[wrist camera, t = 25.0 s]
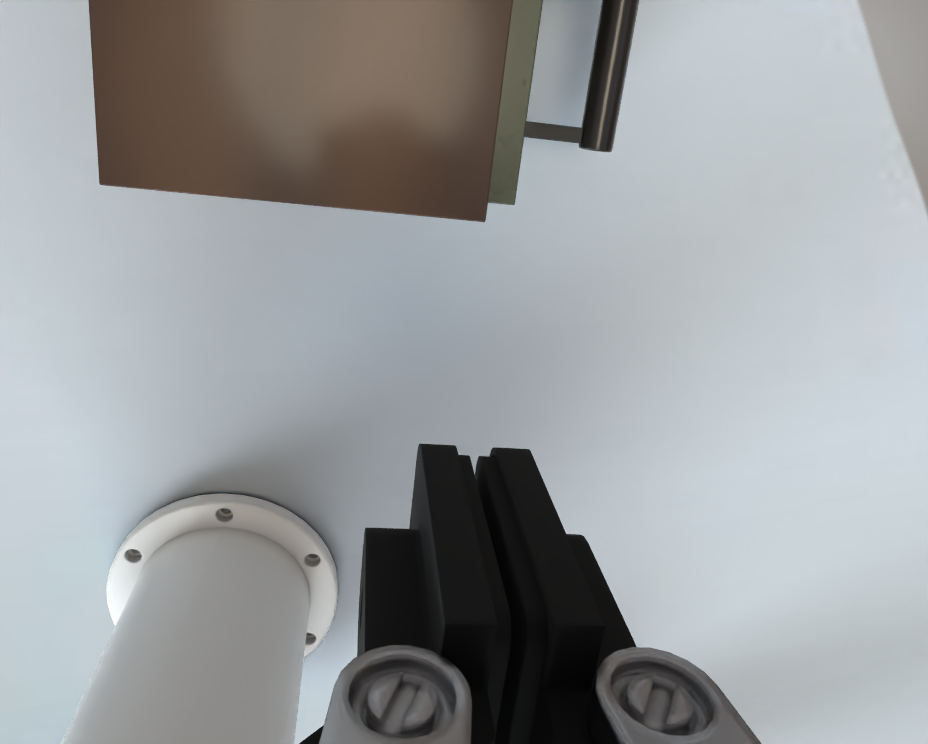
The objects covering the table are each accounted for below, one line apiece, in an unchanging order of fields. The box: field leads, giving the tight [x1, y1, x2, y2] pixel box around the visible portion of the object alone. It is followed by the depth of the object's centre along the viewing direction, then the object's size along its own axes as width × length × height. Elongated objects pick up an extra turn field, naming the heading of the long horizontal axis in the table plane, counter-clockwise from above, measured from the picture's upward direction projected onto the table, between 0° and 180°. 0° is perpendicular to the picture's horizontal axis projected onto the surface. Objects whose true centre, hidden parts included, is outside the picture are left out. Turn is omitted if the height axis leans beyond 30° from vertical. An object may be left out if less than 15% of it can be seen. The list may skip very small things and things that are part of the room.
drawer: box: [488, 0, 639, 205], centre depth 29 cm, size 17×11×7 cm
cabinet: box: [89, 0, 513, 222], centre depth 29 cm, size 14×13×9 cm
